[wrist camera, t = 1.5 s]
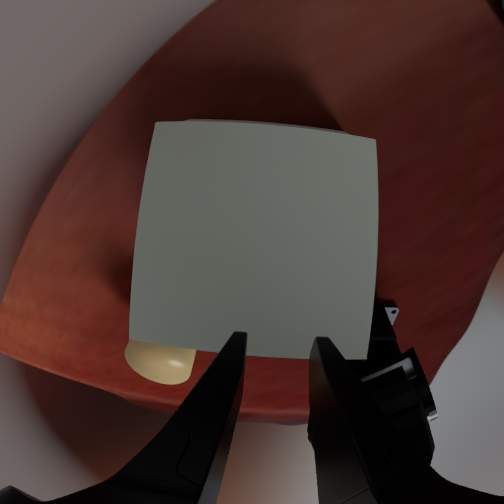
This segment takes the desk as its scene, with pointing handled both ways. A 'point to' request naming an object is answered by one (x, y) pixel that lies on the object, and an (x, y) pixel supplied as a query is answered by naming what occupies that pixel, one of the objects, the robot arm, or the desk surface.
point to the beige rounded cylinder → (160, 361)
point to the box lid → (256, 239)
